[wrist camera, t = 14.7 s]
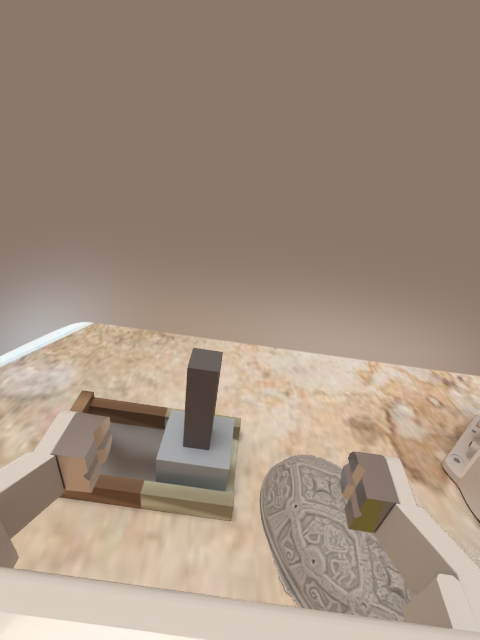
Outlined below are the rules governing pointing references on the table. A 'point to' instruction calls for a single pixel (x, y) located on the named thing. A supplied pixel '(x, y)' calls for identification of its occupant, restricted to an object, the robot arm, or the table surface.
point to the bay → (147, 463)
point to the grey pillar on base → (197, 431)
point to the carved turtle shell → (326, 544)
